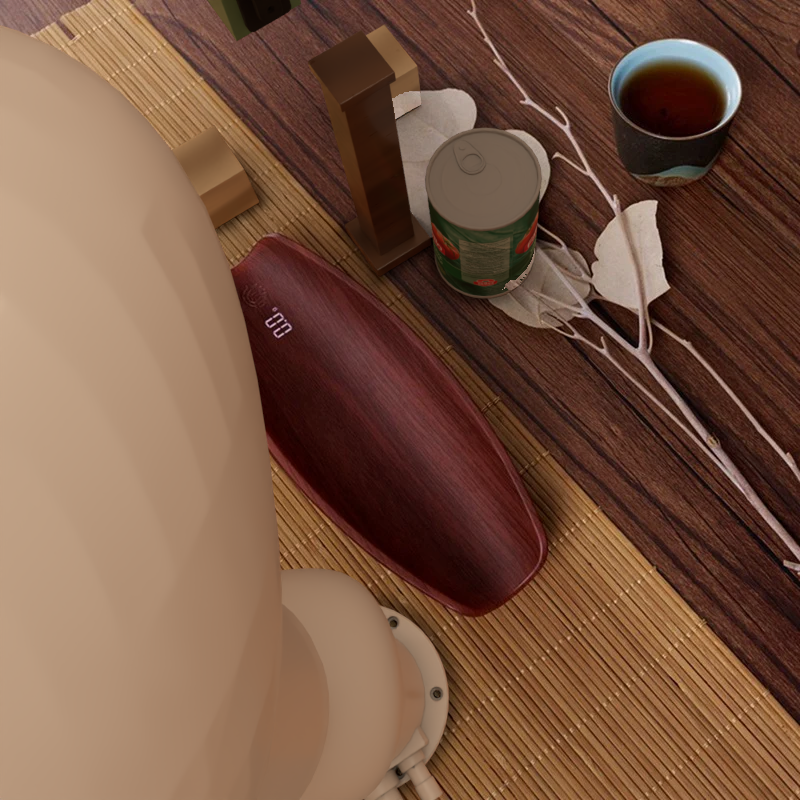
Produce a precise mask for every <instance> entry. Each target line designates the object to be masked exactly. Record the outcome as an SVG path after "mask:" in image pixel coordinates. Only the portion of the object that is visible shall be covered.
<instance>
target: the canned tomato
mask: <svg viewBox="0 0 800 800" xmlns="http://www.w3.org/2000/svg"><path fill="white" fill-rule="evenodd" d="M424 176H425V177H424V183H425V184H424V185H425V191H426V196H427V205H428V213H429V220H430V228H431V229H430V230H431V236H432V245H433V252H434V262H435V266H436V269H437V271H438V273H439V275H440V277H441V278H442V280H443V281H444V282H445V283H446V284H447V285H448V286H449V287H450V288H451V289H453V290H454V291H456V292H457V293H460V294H462V295H464V296H466V297H470V298H473V299H481V300H482V299H483V300H484V299H495V298H497V297H501V296H504V295H507V294H509V293H511V292H513V291H512V290H508V289H507V288H505V289H504V287H505V284H506V283H508V282H509V281H510V280H516V279H517V278H518V277H519V276H520V275H521V274H522V273H523V272H524V271H525V270H526V269H527V267H528V265H529V264H530V262H531V260H532V257H533V254H534V248H535V249H536V243H537V232H538V219H539V211H540V210H539V208H540V199H541V198H540V197H541V189H542V182H543V181H542V180H543V178H542V177H543V175H542V167H541V164H540V162H539V159H538V156H537V155H536V154H535V152H534V150H533V149H532V147H530V145H529V144H528V143H527V142H526V141H524V139H522V138H521V137H519V136H517V135H516V134H513V133H511V132H509V131H507V130H503V129H499V128H493V127H477V128H471V129H467V130H463V131H460V132H459V133H457V134H454V135H452V136H450V137H449V138H448V139H446V140H445V141H443V142H442V143H441V144H440V146H438V148H436V150H435V151H434V152H433V154H432V155H431V157H430V158H429V161H428V164H427V166H426V169H425V175H424ZM525 275H526V276H527V277H523V278H524V279H520V280H521V281H522V282H520V283H521V284H523V283H524V282H525V281H526V280H527V278H528V276H529V275H530V273H529V274H525ZM502 289H503V290H502Z"/></svg>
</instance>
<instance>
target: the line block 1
mask: <svg viewBox="0 0 800 800" xmlns="http://www.w3.org/2000/svg"><path fill="white" fill-rule="evenodd" d="M171 150H172V151H173V153H174V154H175V156H176V158H177V159H178V161H179V163H180V164H181V166H182V168H183V169H184V171H185V173H186V174H187V176H188V178H189V179H190V181H191V183H192V184H193V186H194V188H195V190H196V191H197V193H198V195H199V196H200V198H201V200H202V201H203V203H204V205H205V206H206V209H207V211H208V214H209V216H210V219H211V221H212V224H213V226H214V229H215V230H216V229H217V228H219V227H222V225H224V224H226V223H227V222H229V221H231V220H232V219H234V218H236V217H237V216H239V215H241V214H243V213H244V212H245V211H248V210H249V209H251V208H253V207H255V206H256V205H257V204H259V203H260V201H259V199H258V196H257V193H256V192H255V190H254V187H253V185H252V183H251V181H250V178H249V176H248V175H247V172H246V170H245V168H244V167H243V166H242V164H241V163H240V160H239V159H238V157H237V156H236V155H235V153H234V152H233V150H232V149H231V148H230V146H229V145H228V143H227V141H226V140H225V139H224V137H223V136H222V134H221V132H220V131H219V130H218V128H217V127H216V125H214V124H213V125H212V126H210V127H208V128H206V129H204V130H203V131H201V132H200V133H198V134H196V135H195V136H193V137H191V138H189V139H187V140H186V141H184V142H183V143H181V144H178V145H177V146H176V147H174V148H173V149H172V148H171Z"/></svg>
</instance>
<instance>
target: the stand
mask: <svg viewBox="0 0 800 800" xmlns="http://www.w3.org/2000/svg"><path fill="white" fill-rule="evenodd" d="M366 35H367V34H365V33H364V31H363V30H359V31H357V32H355V33H354V34H353V33H352V35H350V36H348V37H347V38H345V39H343V40H341V41H340V42H338V43H336V44H334V45H333V46H331V47H329V48H328V49H326V50H325V51H323V52H321V53H319V54H318V55H316V56H314V57H313V58H310V59H309V60H308V61H307V65H308V67H309V71H310V72H311V73H312V75H313V76H314V77H315V79H316V80H317V81H318V83H319V84H320V87H321V90H322V94H323V98H324V100H325V106H326V109H327V112H328V116H329V119H330V123H331V128H332V130H333V135H334V137H335V138H334V139H335V141H336V146H337V149H338V152H339V155H340V156H339V157H340V159H341V163H342V166H343V170H344V174H345V178H346V182H347V185H348V189H349V193H350V196H351V199H352V203H353V207H354V211H355V214H356V217H355V218H353V219H351V220H349V221H348V222H347V223H345V224H344V227H345V231H346V233H347V234H348V236H349V237H350V239H351V241H352V242H353V243H354V244H355V246H356V247H357V249H358V250H359V251H360V253H361V255H362V257H364V259H365V260H366V261H367V263H368V264H369V266H370V267H371V269H372V270H373V271H374V273H375V274H376V275H377V277H378V278H380V277H381V276H384V275H385V274H386V273H388V272H390V271H392V270H393V269H395V268H396V267H398V266H400V265H401V264H404V262H406V261H408V260H409V259H411V258H412V257H414V256H416V255H417V254H419V253H422V252H423V251H424V250H426V249H427V248H429V247H430V246H432V240H431V236H430V234H429V233H428V232H427V231H426V229H425V228H424V227H423V225H422V224H421V223H420V221H419V220H418V219H417V217H416V216H415V215H414V213H413V212H412V211H411V205H410V199H409V194H408V188H407V180H406V175H405V168H404V161H403V156H402V149H401V145H400V137H399V131H398V125H397V120H396V119H395V113H394V107H393V101H392V95H391V89H390V84H391V83H393V82H395V81H396V76H395V72H394V70H393V69H392V68H391V67H390V65H389V64H388V63H387V62H386V60H385V59H384V58H383V57H382V55H381V54H380V53H379V51H378V50H377V49H376V48H375V46H374V45H373V44H372V43H371V41H370V40H369V39H368V38H367V36H366ZM412 213H413V214H412Z"/></svg>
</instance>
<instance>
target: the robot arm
mask: <svg viewBox="0 0 800 800" xmlns="http://www.w3.org/2000/svg"><path fill="white" fill-rule="evenodd" d="M236 1H237V4H238V7H239V10H240V12H241V15H242V18H243V21H244V23H245V26H246V27H247V28H248V30H249V31H250V32H252V33H255V32H258V31H260V30H261V29H263V28H264V27H266V26H268V25H270V24H271V23H273V22H275V21H277V20H278V19H280V18H281V17H283V16H285V15H287V14H288V13H289V12H290V11H291V2H290V0H236ZM244 316H245V315H244V313H243V309H242V306H241V301H240V299H239V295H238V291H237V288H236V285H235V281H234V276H233V274H232V271H231V266H230V263H229V260H228V258H227V256H226V253H225V251H224V248H223V246H222V243H221V241H220V238H219V235H218V234H217V231H216V229H214V226H213V224H212V221H211V219H210V216H209V214H208V211H207V209H206V206H205V205H204V203H203V201H202V200H201V198H200V196H199V195H198V193H197V191H196V190H195V188H194V186H193V184H192V183H191V181H190V179H189V178H188V176H187V174H186V173H185V171H184V169H183V168H182V166H181V164H180V163H179V161H178V159H177V158H176V156H175V154H174V153H173V151H172V148H171V147H170V146H169V145H168V143H167V142H166V141H165V140H164V138H163V137H162V135H160V133H159V132H158V131H157V130H156V129H155V127H154V126H153V124H152V123H151V122H150V120H148V119H147V118H146V117H145V115H144V114H143V113H142V112H141V111H140V110H139V109H138V108H137V107H136V106H135V105H134V104H133V103H132V102H131V101H130V100H129V99H128V98H127V97H126V96H125V95H124V94H123V93H122V92H121V91H120V90H119V89H117V88H116V87H115V86H114V85H112V84H111V83H110V82H108V80H106V79H105V78H104V77H102V76H101V75H100V74H99V73H97V72H96V71H95V70H93V69H92V68H91V67H89V66H87V64H84V63H83V62H81V61H80V60H78V59H76V58H74V57H73V56H71V55H70V54H68V53H66V52H64V51H63V50H61V49H59V47H56V46H54V45H51V44H49V43H47V42H45V41H42V40H40V39H37V38H35V37H33V36H31V35H29V34H26V33H25V32H23V31H20V30H18V29H15V28H11V27H8V26H4V25H1V24H0V800H404V798H403V796H402V795H401V792H400V791H399V789H398V788H400V787H402V786H404V784H406V783H407V782H409V781H411V783H412V784H413V786H414V790H415V792H416V793H417V795H418V797H419V799H420V800H437V799H439V798H440V797H441V796H442V795H444V792H443V791H442V789H441V787H440V786H439V784H438V782H437V780H436V779H435V777H434V775H432V774H431V772H430V771H429V769H428V767H427V764H428V762H429V761H430V760H431V758H432V756H433V755H434V754H435V752H436V750H437V748H438V747H439V745H440V742H441V740H442V737H443V734H444V733H445V730H446V726H447V721H448V715H449V709H450V695H449V694H450V692H449V691H450V689H449V683H448V678H447V673H446V669H445V667H444V664H443V661H442V659H441V656H440V654H439V653H438V650H437V649H436V647H435V645H434V644H433V643H432V641H431V639H430V638H429V637H428V636H427V635H426V633H425V632H424V631H423V630H422V629H421V628H420V627H419V626H418V625H417V624H416V623H415V622H413V621H412V620H411V619H410V618H408V617H406V616H404V615H403V614H401V613H400V612H398V611H396V610H394V609H393V608H392V609H391V608H389V607H386V606H383V605H381V604H379V602H378V601H377V600H376V598H375V597H374V595H372V593H371V592H370V591H369V589H368V588H366V587H365V586H364V585H363V584H362V583H361V582H360V581H358V580H357V579H355V578H353V577H352V576H350V575H348V574H347V573H345V572H342V571H339V570H334V569H329V568H319V567H306V568H305V567H304V568H303V567H302V568H289V569H288V568H287V569H281V551H280V549H281V548H280V537H279V527H278V518H277V517H278V516H277V512H276V502H275V493H274V483H273V474H272V473H273V472H272V464H271V456H270V450H269V444H268V437H267V432H266V426H265V419H264V414H263V413H264V412H263V406H262V400H261V394H260V387H259V382H258V381H259V380H258V374H257V370H256V366H255V362H254V357H253V353H252V348H251V342H250V338H249V333H248V330H247V324H246V321H245V317H244ZM392 621H393V622H394V621H396V626H394V627H393V626H392V625H391V623H392ZM436 691H439V692H440V695H439V697H436V696H435V695H434V692H436ZM397 769H399V771H400V773H401V775H399V774H398V773H397Z"/></svg>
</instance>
